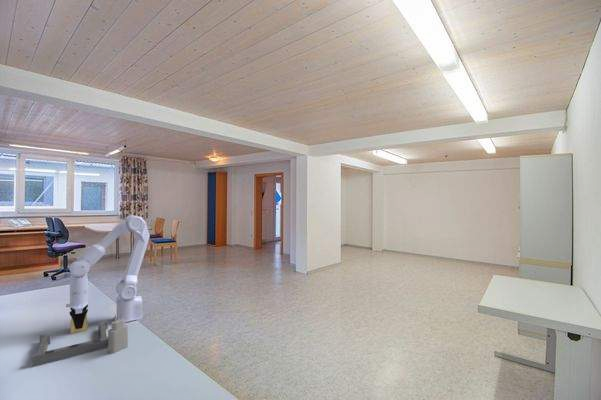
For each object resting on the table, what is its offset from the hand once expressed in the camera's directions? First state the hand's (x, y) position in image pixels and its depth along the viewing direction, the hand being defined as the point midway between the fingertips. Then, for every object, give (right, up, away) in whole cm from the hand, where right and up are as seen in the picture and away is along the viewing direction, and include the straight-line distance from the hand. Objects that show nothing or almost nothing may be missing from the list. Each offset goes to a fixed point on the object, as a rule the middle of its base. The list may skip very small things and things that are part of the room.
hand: (79, 326), depth 113 cm
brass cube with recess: (0, -1, 0) cm, 1 cm away
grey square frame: (+7, -1, -12) cm, 14 cm away
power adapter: (+24, -2, -14) cm, 28 cm away
